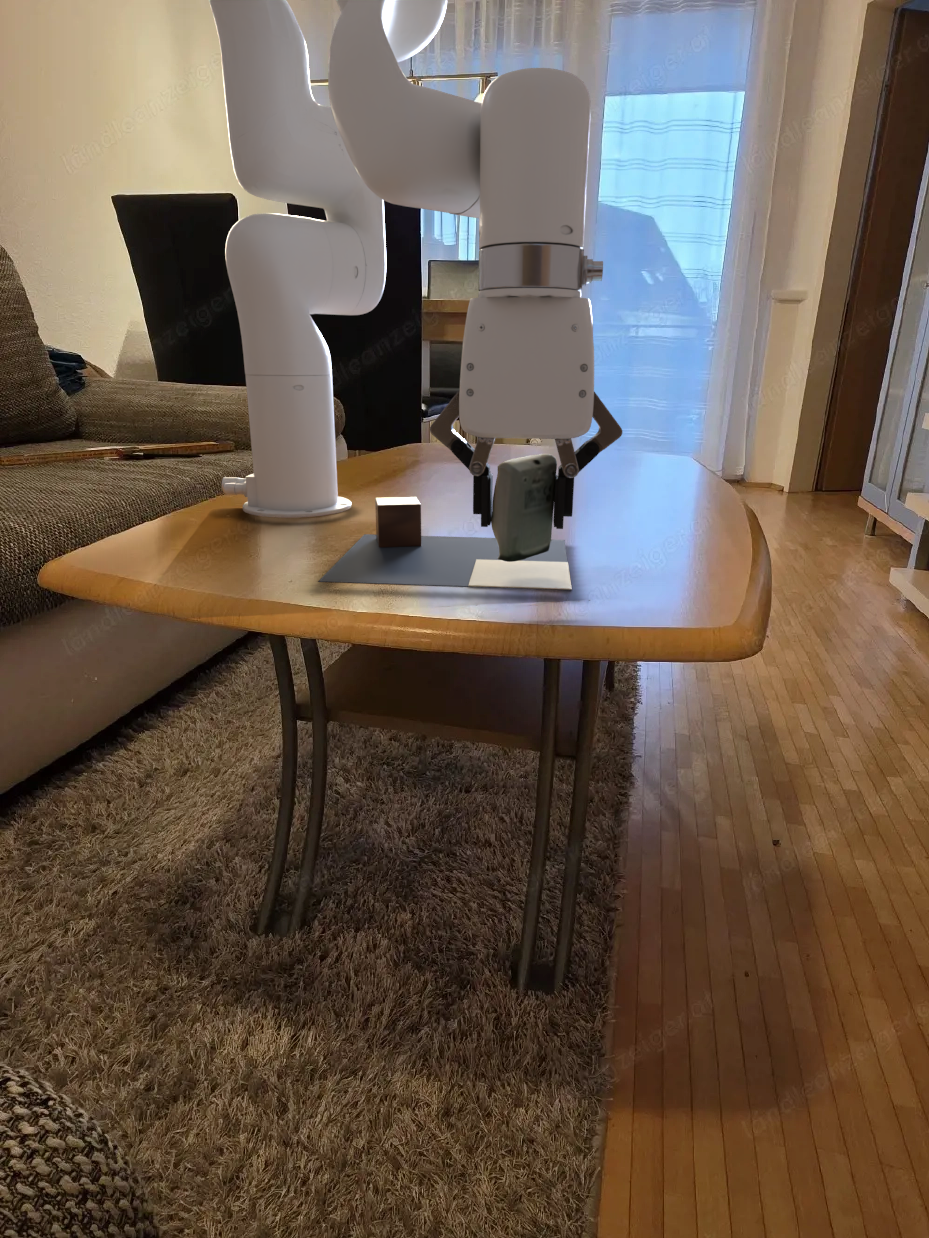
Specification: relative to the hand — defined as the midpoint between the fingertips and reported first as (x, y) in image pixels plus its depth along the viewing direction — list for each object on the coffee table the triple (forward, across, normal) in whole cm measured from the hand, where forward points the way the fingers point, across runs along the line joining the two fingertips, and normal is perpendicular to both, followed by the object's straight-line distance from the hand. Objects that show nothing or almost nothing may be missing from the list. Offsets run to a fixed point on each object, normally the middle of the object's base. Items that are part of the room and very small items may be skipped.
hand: (522, 522), depth 61 cm
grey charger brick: (+3, 0, 0) cm, 3 cm away
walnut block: (+4, +12, -10) cm, 16 cm away
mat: (+5, +6, -4) cm, 9 cm away
